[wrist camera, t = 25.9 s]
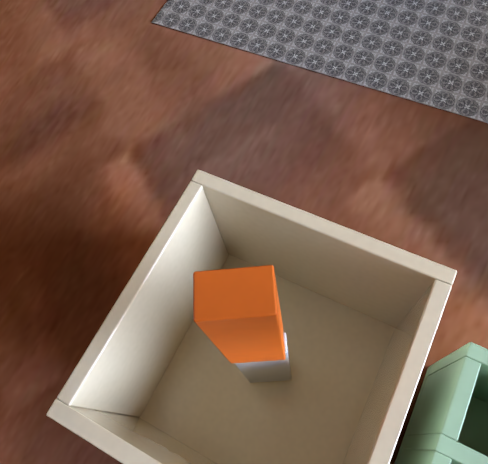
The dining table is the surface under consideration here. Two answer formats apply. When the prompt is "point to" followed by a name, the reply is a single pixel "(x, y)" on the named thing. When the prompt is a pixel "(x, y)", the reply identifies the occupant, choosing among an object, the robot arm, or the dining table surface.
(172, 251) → the beige square open box
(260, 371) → the knife
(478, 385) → the green compartment organizer
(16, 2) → the dining table surface
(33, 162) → the dining table surface
